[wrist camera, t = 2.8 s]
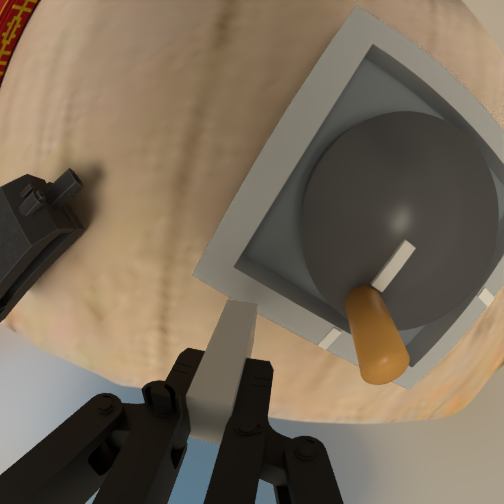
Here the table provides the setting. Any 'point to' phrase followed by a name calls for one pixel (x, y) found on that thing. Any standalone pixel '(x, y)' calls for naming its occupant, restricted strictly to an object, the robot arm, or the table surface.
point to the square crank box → (298, 170)
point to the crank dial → (397, 230)
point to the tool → (34, 231)
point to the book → (12, 26)
